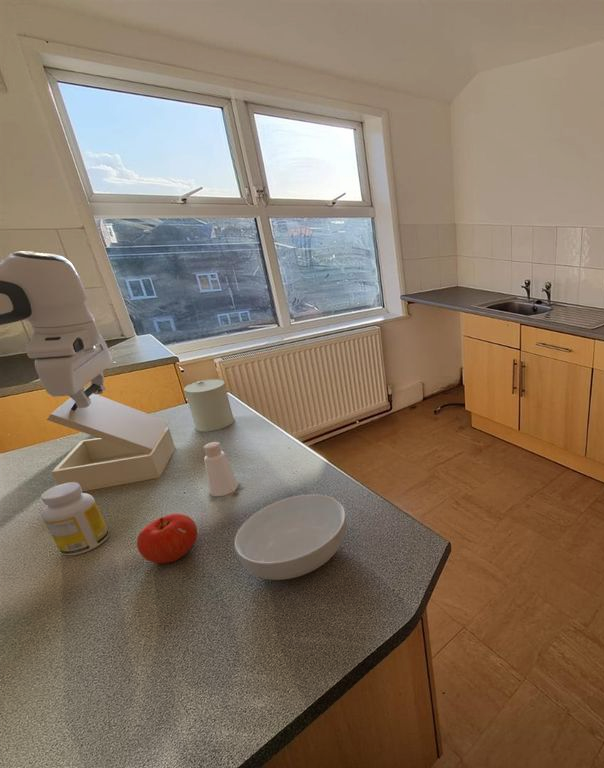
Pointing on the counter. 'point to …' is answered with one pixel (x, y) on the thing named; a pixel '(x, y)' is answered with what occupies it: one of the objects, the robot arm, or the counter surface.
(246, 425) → the counter surface
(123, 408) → the box lid
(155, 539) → the apple
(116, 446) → the cream open box
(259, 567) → the cereal bowl
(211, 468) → the salt shaker
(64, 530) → the pill bottle
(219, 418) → the can
